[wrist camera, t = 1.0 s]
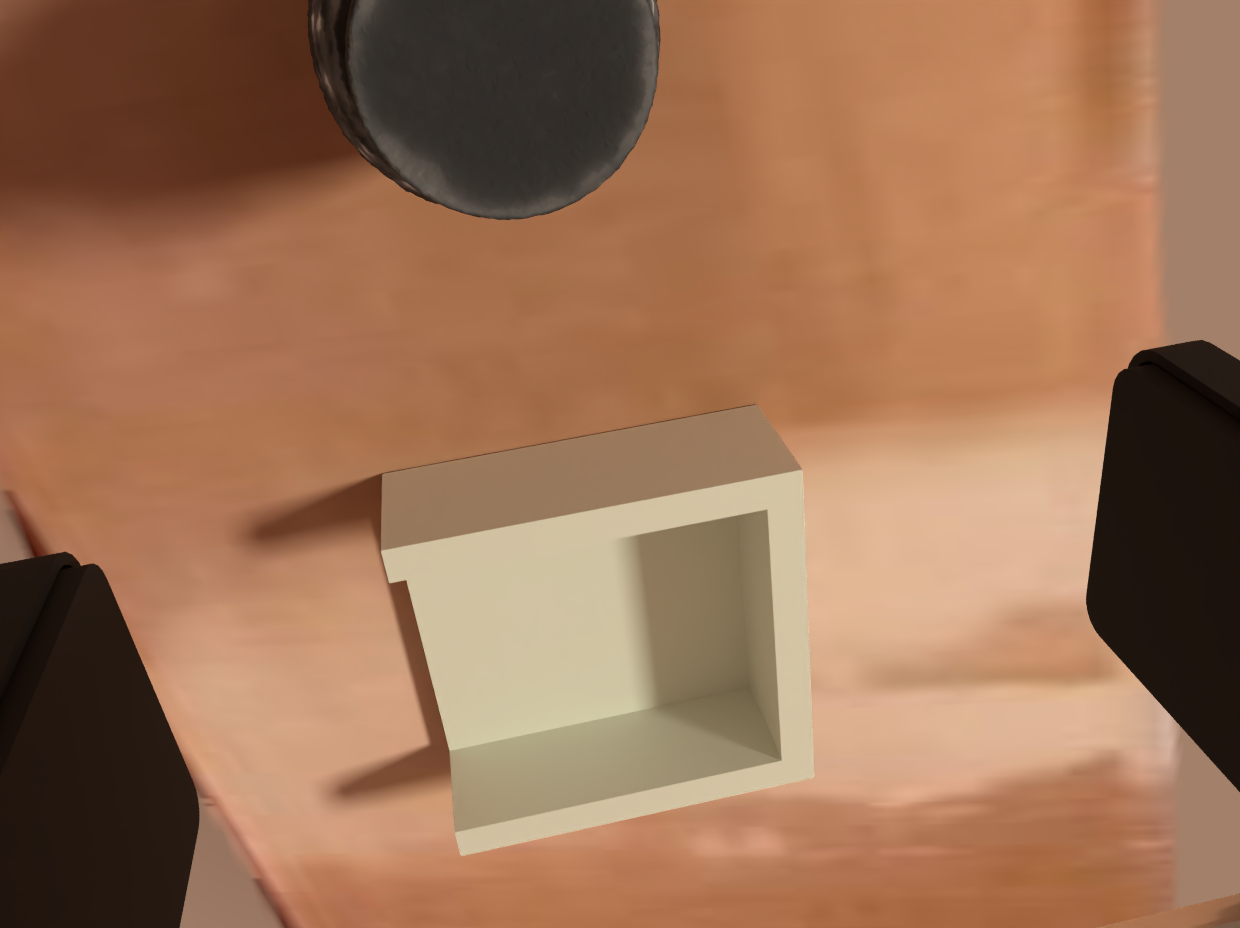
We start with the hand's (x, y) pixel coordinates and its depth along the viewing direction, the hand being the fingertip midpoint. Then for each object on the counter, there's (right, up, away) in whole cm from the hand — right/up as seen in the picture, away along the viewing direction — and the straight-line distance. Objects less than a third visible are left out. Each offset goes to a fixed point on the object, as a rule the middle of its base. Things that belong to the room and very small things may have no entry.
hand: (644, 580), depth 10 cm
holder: (-1, -3, +24) cm, 24 cm away
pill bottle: (-4, +12, +16) cm, 20 cm away
